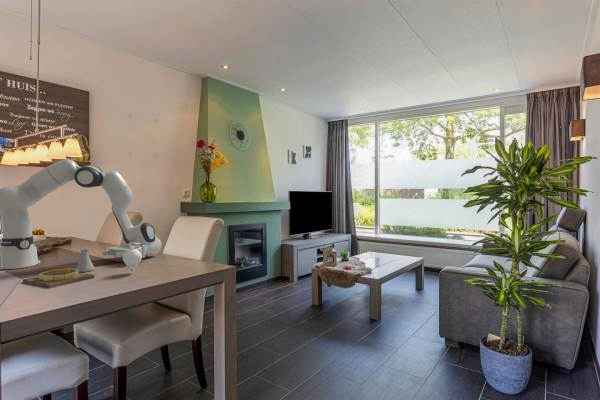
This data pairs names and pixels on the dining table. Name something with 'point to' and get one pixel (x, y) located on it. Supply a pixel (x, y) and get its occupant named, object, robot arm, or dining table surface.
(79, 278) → the walnut board
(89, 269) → the flask
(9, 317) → the dining table surface
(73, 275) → the wooden ring
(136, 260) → the spinning top
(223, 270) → the dining table surface
